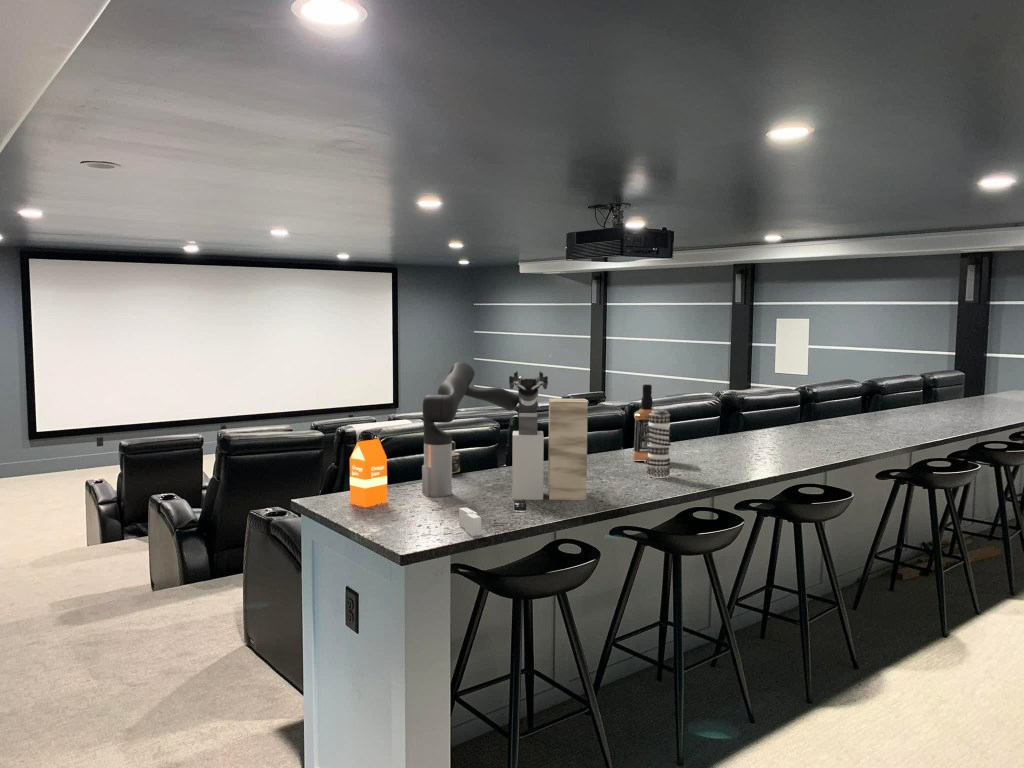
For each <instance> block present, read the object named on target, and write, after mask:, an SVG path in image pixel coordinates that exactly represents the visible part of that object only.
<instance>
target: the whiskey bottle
mask: <svg viewBox="0 0 1024 768" xmlns="http://www.w3.org/2000/svg"><path fill="white" fill-rule="evenodd" d="M652 389H653V388H652V384H642V396H641V400H640V401H641V402H640V403H641V405H640V406H641V408H639V409H638V410H636V411H635V412H634V413H633V417H634V435H633V437H634V439H633V448H632V460H633V459H634V460H646V461H648V460H647V458H648V453H649V446H648V445H647V444H648V443H649V441H647V438H648V437H647V434H648V432H647V425H648V424H649V414H650V413H651V411H652V410H654V409H653V398H652V392H653V391H652Z"/></svg>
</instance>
